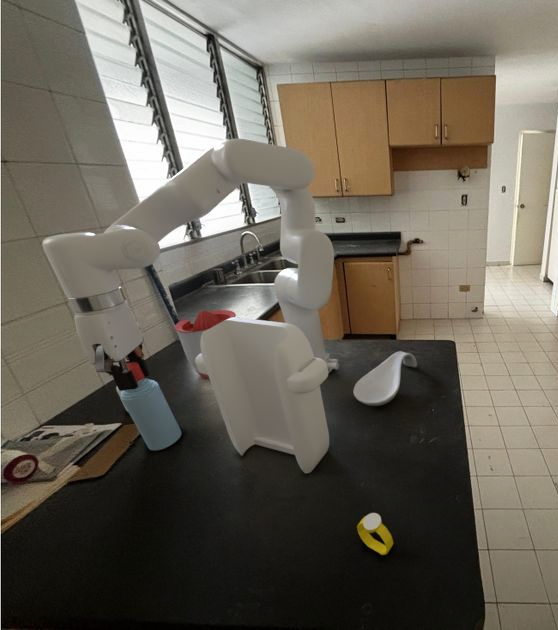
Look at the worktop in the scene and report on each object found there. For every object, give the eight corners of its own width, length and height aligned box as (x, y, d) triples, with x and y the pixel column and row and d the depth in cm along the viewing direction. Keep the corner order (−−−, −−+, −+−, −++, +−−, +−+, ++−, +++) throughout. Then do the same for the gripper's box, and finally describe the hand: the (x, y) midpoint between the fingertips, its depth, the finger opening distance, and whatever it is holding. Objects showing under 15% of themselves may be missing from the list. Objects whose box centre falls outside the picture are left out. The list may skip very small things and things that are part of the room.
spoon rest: (384, 418, 80) (382, 394, 77) (345, 406, 85) (341, 382, 82) (427, 369, 99) (426, 348, 97) (393, 361, 104) (391, 341, 102)
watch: (397, 548, 52) (394, 523, 50) (386, 565, 50) (383, 539, 48) (367, 530, 55) (363, 505, 53) (356, 545, 53) (351, 519, 51)
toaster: (355, 442, 74) (336, 317, 62) (326, 483, 64) (297, 345, 52) (257, 418, 82) (224, 305, 70) (219, 452, 72) (173, 327, 61)
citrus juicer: (231, 351, 116) (215, 296, 108) (258, 364, 106) (243, 306, 98) (181, 372, 104) (159, 313, 96) (207, 389, 95) (184, 325, 87)
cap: (145, 372, 72) (139, 359, 71) (143, 381, 69) (137, 368, 68) (122, 379, 70) (116, 366, 69) (119, 388, 67) (112, 375, 66)
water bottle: (188, 430, 79) (155, 362, 71) (165, 451, 73) (127, 380, 65) (165, 428, 80) (130, 361, 72) (141, 449, 74) (100, 379, 66)
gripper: (104, 289, 70) (137, 365, 77) (39, 320, 55) (87, 411, 62) (144, 285, 71) (173, 360, 78) (92, 314, 56) (133, 404, 63)
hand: (135, 381), depth 70 cm, fingers closed on cap, 3 cm apart
